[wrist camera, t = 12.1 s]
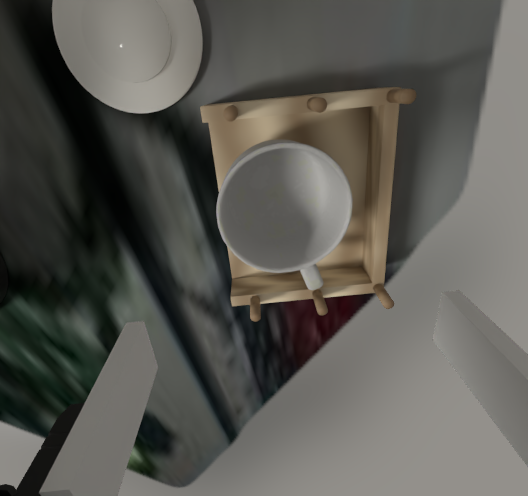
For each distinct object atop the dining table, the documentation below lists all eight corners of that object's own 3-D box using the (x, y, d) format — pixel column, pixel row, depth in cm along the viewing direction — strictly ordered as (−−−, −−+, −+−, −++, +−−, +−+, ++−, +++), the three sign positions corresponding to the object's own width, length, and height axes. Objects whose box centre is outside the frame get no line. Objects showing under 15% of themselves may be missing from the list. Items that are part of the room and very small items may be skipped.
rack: (234, 282, 39) (230, 324, 31) (207, 104, 30) (194, 108, 23) (368, 269, 38) (394, 309, 31) (379, 87, 30) (418, 86, 23)
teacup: (210, 145, 30) (198, 162, 23) (324, 119, 30) (347, 127, 23) (245, 270, 37) (244, 314, 29) (341, 250, 36) (363, 290, 29)
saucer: (87, 119, 31) (78, 120, 29) (36, -45, 25) (22, -55, 24) (213, 105, 30) (211, 106, 29) (188, -62, 25) (184, -72, 24)
